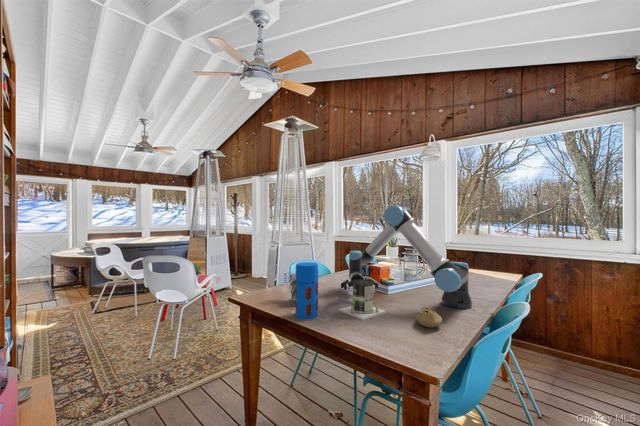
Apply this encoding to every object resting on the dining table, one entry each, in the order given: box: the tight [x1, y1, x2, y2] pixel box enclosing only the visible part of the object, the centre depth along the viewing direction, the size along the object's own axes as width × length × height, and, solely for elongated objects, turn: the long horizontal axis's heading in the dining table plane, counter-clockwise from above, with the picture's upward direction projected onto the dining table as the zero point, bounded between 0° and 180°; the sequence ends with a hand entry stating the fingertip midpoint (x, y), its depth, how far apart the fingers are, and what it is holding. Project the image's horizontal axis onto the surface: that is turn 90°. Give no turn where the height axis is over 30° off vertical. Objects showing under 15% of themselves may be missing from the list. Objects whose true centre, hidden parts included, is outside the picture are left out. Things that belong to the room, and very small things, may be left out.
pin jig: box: [339, 304, 386, 321], centre depth 147 cm, size 16×16×4 cm
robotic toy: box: [287, 273, 296, 301], centre depth 164 cm, size 13×17×15 cm
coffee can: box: [352, 278, 374, 313], centre depth 147 cm, size 10×10×14 cm
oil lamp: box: [415, 306, 443, 328], centre depth 131 cm, size 11×15×8 cm
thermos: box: [295, 261, 319, 320], centre depth 142 cm, size 11×11×25 cm
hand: (361, 289), depth 152 cm, fingers open, 13 cm apart
